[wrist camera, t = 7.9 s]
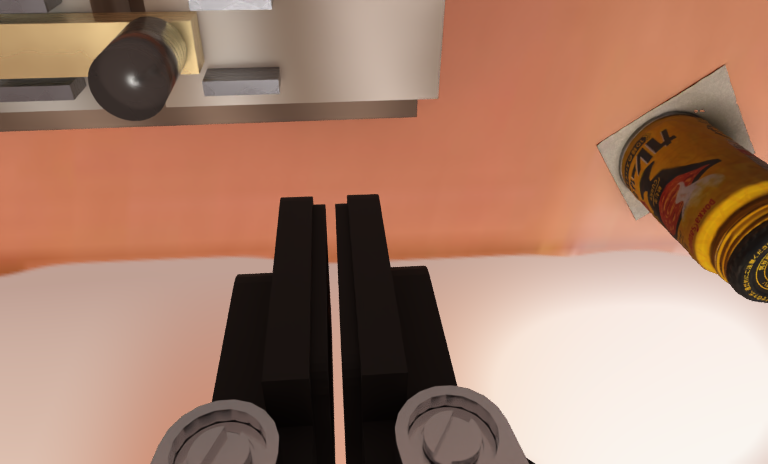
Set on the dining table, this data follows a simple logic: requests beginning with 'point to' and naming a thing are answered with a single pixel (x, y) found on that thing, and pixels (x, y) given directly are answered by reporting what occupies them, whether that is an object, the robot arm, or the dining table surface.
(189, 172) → the dining table surface
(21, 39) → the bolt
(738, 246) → the condiment
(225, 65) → the grey brown double block
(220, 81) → the lock hardware
